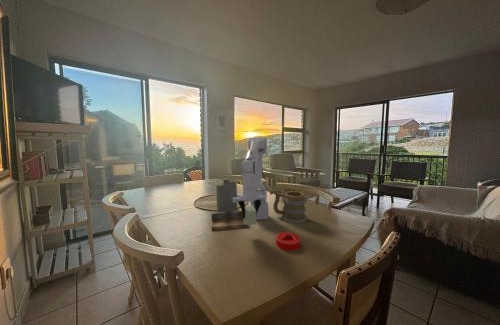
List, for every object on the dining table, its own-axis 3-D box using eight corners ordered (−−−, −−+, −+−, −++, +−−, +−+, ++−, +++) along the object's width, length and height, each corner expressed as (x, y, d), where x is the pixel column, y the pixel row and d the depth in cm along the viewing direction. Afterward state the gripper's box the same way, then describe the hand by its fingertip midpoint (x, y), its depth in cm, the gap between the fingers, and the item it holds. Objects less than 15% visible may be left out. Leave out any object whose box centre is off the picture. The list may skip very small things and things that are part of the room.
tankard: (307, 216, 113) (308, 190, 111) (303, 225, 101) (304, 196, 100) (273, 211, 121) (273, 187, 120) (266, 219, 110) (266, 192, 108)
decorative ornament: (299, 252, 77) (299, 244, 77) (274, 248, 80) (274, 241, 80) (300, 240, 86) (300, 233, 86) (278, 237, 89) (278, 230, 89)
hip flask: (220, 216, 115) (219, 181, 113) (215, 214, 117) (213, 180, 115) (238, 208, 127) (237, 177, 125) (233, 207, 130) (232, 176, 128)
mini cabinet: (253, 218, 94) (253, 205, 94) (256, 225, 87) (256, 211, 86) (243, 218, 94) (243, 206, 93) (246, 226, 86) (246, 212, 85)
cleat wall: (245, 219, 110) (245, 210, 109) (248, 226, 100) (248, 217, 99) (211, 222, 106) (211, 212, 106) (211, 230, 97) (211, 220, 96)
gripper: (233, 190, 84) (234, 221, 85) (267, 188, 86) (267, 219, 88) (232, 186, 91) (232, 215, 92) (263, 184, 93) (263, 213, 95)
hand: (249, 216), depth 91 cm, fingers closed on mini cabinet, 4 cm apart
